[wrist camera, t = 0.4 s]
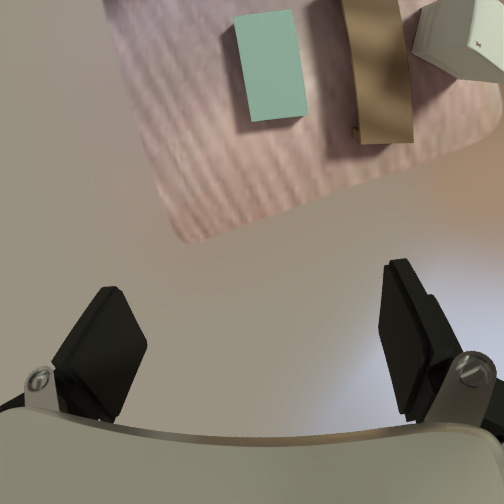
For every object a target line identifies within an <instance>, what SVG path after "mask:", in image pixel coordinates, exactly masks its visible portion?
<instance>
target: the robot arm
mask: <svg viewBox="0 0 504 504" xmlns="http://www.w3.org/2000/svg"><path fill="white" fill-rule="evenodd" d="M378 330H379V336H380V339H381V343H382V346H383V350H384V354H385V357H386V361H387V365H388V368H389V372H390V376H391V380H392V384H393V388H394V392H395V396H396V401H397V405H398V410H399V413H400V414H405V417H406V421H407V422H410V421H414V420H416V424H408V425H402V426H394V427H386V428H378V429H371V430H365V431H356V432H347V433H338V434H325V435H313V436H298V437H267V438H266V437H264V438H263V437H257V438H255V437H219V436H203V435H190V434H180V433H171V432H162V431H155V430H148V429H141V428H135V427H129V426H123V425H117V424H113V423H114V421H115V418H116V417H117V416H119V414H120V412H121V409H122V407H123V404H124V402H125V399H126V397H127V394H128V392H129V390H130V387H131V384H132V382H133V380H134V377H135V375H136V373H137V370H138V368H139V366H140V363H141V361H142V359H143V356H144V354H145V352H146V349H147V340H146V338H145V336H144V334H143V333H142V331H141V329H140V327H139V325H138V323H137V321H136V319H135V317H134V315H133V313H132V311H131V309H130V307H129V305H128V303H127V300H126V298H125V296H124V294H123V292H122V291H121V290H119V289H118V288H117V287H116V286H110V287H102V288H101V289H100V291H99V292H98V293H97V294H96V296H95V297H94V299H93V300H92V301H91V303H90V304H89V306H88V307H87V308H86V310H85V311H84V313H83V314H82V316H81V317H80V318H79V320H78V321H77V323H76V324H75V326H74V327H73V329H72V330H71V332H70V333H69V335H68V336H67V338H66V339H65V341H64V342H63V344H62V345H61V347H60V348H59V350H58V352H57V353H56V355H55V356H54V358H53V360H52V361H51V362H52V364H53V365H54V366H55V368H56V369H55V370H54V371H53V370H52V369H51V368H50V367H48V366H42V367H39V368H37V369H35V370H34V371H33V372H32V373H30V374H29V376H28V377H27V379H26V382H25V386H24V393H22V394H21V395H19V396H17V397H15V398H14V399H12V400H10V401H8V402H6V403H5V404H3V405H1V406H0V504H504V381H502V380H500V379H498V378H496V375H497V371H496V367H495V365H494V363H493V361H492V360H491V359H490V358H489V357H488V356H487V355H485V354H483V353H481V352H476V351H466V352H463V350H462V348H461V346H460V344H459V342H458V340H457V338H456V336H455V334H454V332H453V330H452V328H451V326H450V324H449V322H448V320H447V318H446V316H445V314H444V312H443V311H442V309H441V307H440V305H439V303H438V301H437V300H436V298H435V297H434V295H432V294H429V295H427V293H426V291H425V289H424V287H423V285H422V284H421V282H420V280H419V278H418V277H417V275H416V273H415V271H414V270H413V268H412V267H411V264H410V263H409V261H408V260H407V259H406V258H404V259H396V260H390V262H389V265H385V266H384V273H383V286H382V297H381V308H380V316H379V325H378ZM98 419H100V420H101V421H98Z"/></svg>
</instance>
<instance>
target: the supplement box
mask: <svg viewBox="0 0 504 504" xmlns="http://www.w3.org/2000/svg"><path fill="white" fill-rule="evenodd" d="M411 53H412V54H414V55H416V56H418V57H420V58H422V59H423V60H425V61H427V62H429V63H431V64H433V65H435V66H436V67H438V68H440V69H442V70H443V71H445V72H447V73H448V74H450V75H452V76H453V77H455V78H457V79H460V80H473V81H484V82H492V83H501V84H504V5H503V4H502V3H500V2H499V1H498V0H438V1H436V2H433V3H431V4H429V5H426V6H424V7H422V11H421V15H420V19H419V24H418V28H417V32H416V36H415V40H414V44H413V48H412V51H411Z"/></svg>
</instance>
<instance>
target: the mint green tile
mask: <svg viewBox="0 0 504 504" xmlns="http://www.w3.org/2000/svg"><path fill="white" fill-rule="evenodd" d="M233 20H234V26H235V31H236V37H237V42H238V48H239V53H240V59H241V64H242V70H243V76H244V81H245V87H246V93H247V99H248V104H249V110H250V116H251V122H255V121H262V120H270V119H279V118H288V117H297V116H308V108H307V100H306V93H305V86H304V79H303V73H302V66H301V60H300V54H299V48H298V42H297V36H296V31H295V25H294V20H293V15H292V10H281V11H272V12H264V13H256V14H250V15H243V16H238V17H233Z"/></svg>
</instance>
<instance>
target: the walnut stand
mask: <svg viewBox="0 0 504 504" xmlns="http://www.w3.org/2000/svg"><path fill="white" fill-rule="evenodd" d="M340 2H341V6H342V11H343V16H344V22H345V27H346V33H347V39H348V45H349V51H350V58H351V65H352V72H353V80H354V88H355V97H356V107H357V118H358V127H352V137H353V138H354V139H355V140H356V141H357V142H359V143H360V144H361V145H363V144H389V143H414V140H413V113H412V97H411V85H410V75H409V66H408V58H407V51H406V44H405V37H404V31H403V26H402V20H401V15H400V10H399V5H398V1H397V0H340Z"/></svg>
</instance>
